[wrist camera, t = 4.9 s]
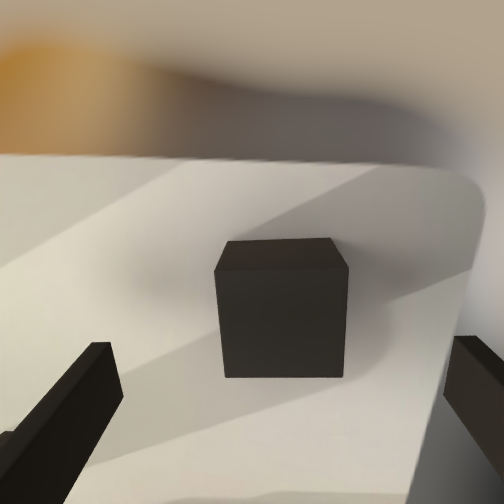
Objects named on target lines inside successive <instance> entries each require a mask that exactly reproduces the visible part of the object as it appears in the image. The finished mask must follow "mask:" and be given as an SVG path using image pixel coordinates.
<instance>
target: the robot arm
mask: <svg viewBox="0 0 504 504" xmlns="http://www.w3.org/2000/svg"><path fill="white" fill-rule="evenodd" d="M443 395H444V397H445V398H446V400H447V401H448V402H449V404H450V405H451V407H452V408H453V410H454V411H455V413H456V414H457V415H458V417H459V418H460V419H461V421H462V423H463V424H464V425H465V427H466V428H467V430H468V431H469V433H470V434H471V436H472V437H473V438H474V440H475V441H476V443H477V444H478V445H479V447H480V448H481V450H482V451H483V453H484V454H485V456H486V457H487V458H488V460H489V461H490V463H491V464H492V466H493V467H494V469H495V470H496V471H497V473H498V474H499V476H500V477H501V479H502V480H503V482H504V361H503V360H502V359H501V358H500V357H498V355H496V354H495V353H494V352H493V351H492V350H491V349H490V348H489V347H488V346H487V345H486V344H485V343H483V342H482V341H481V340H480V339H479V338H478V337H477V336H454V340H453V346H452V352H451V356H450V362H449V367H448V372H447V378H446V383H445V388H444V393H443ZM123 397H124V396H123V392H122V388H121V384H120V379H119V375H118V371H117V367H116V363H115V359H114V355H113V351H112V347H111V342H92V343H91V344H90V345H89V346H88V347H87V348H86V350H85V351H84V352H83V353H82V354H81V355H80V356H79V357H78V359H77V360H76V361H75V362H74V363H73V364H72V365H71V366H70V368H69V369H68V370H67V371H66V372H65V373H64V374H63V376H62V377H61V378H60V379H59V380H58V381H57V382H56V383H55V385H54V386H53V387H52V388H51V389H50V390H49V391H48V393H47V394H46V395H45V396H44V397H43V398H42V399H41V400H40V402H39V403H38V404H37V405H36V406H35V407H34V408H33V410H32V411H31V412H30V413H29V414H28V415H27V416H26V417H25V419H24V420H23V421H22V422H21V423H20V424H19V425H18V427H17V428H16V429H15V430H14V431H4V432H3V433H2V434H0V504H63V503H64V501H65V499H66V498H67V496H68V494H69V492H70V491H71V489H72V487H73V485H74V484H75V482H76V480H77V478H78V477H79V475H80V473H81V471H82V469H83V468H84V466H85V464H86V462H87V461H88V459H89V457H90V455H91V454H92V452H93V450H94V448H95V447H96V445H97V443H98V441H99V440H100V438H101V436H102V434H103V432H104V431H105V429H106V427H107V425H108V424H109V422H110V420H111V418H112V417H113V415H114V413H115V411H116V410H117V408H118V406H119V404H120V403H121V401H122V399H123Z"/></svg>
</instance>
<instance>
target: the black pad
mask: <svg viewBox="0 0 504 504" xmlns="http://www.w3.org/2000/svg"><path fill="white" fill-rule="evenodd" d="M348 274H349V267H348V265H347V264H346V262H345V261H344V259H343V257H342V256H341V254H340V253H339V251H338V249H337V248H336V246H335V244H334V243H333V241H332V240H331V238H310V239H281V240H253V241H228V242H227V244H226V246H225V248H224V250H223V253H222V255H221V257H220V259H219V261H218V264H217V266H216V268H215V270H214V276H215V286H216V295H217V305H218V315H219V324H220V334H221V344H222V353H223V363H224V372H225V377H226V378H342V377H343V370H344V351H345V331H346V312H347V293H348Z"/></svg>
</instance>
